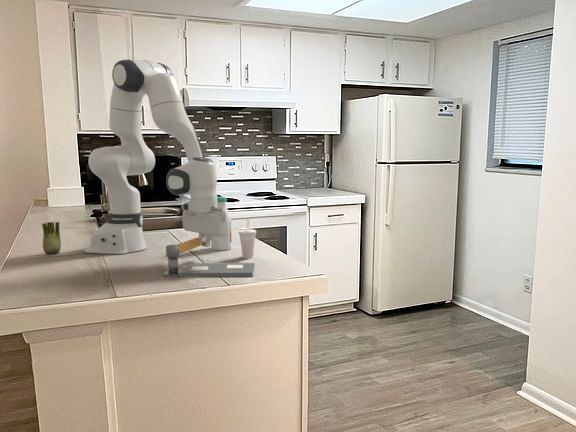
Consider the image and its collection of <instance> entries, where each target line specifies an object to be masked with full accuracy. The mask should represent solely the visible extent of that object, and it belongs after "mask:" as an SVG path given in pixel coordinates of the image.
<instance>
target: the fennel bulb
mask: <svg viewBox="0 0 576 432" xmlns="http://www.w3.org/2000/svg"><path fill="white" fill-rule="evenodd" d="M41 226H42V230H43V238H42V250H43V253H44V254H46V255H55V254H59V253H60V252H61V247H62V240H61V232H60V222H59V221H55V222H54V221H48V222H44V223H41Z"/></svg>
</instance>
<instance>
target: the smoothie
mask: <svg viewBox="0 0 576 432" xmlns="http://www.w3.org/2000/svg"><path fill="white" fill-rule="evenodd" d="M249 220H250V219H249V218H247V219H246V221H247V222H246V223H247V224H246V226H247V227H246V228H245V229H239V230H238V235H239V240H240V247H241V256H242V259H246V260H247V259H253V258H254V252H255V243H256V235H257V229H254V228H253V229H252V228H251V229H250V221H249Z"/></svg>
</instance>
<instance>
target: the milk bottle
mask: <svg viewBox="0 0 576 432" xmlns="http://www.w3.org/2000/svg"><path fill="white" fill-rule="evenodd" d="M227 199H228V198H227V197H226V196H217V204H218V208H222V209H223V210H224V212H225V213H226V217H227V222H228V234H227V235H226V236H221V237H219V236H213V235H212V238H211V241H210V248H211V249H212V250H214V251H228V250H231V249H232V219H231V215H230V213H229V209H228V208H227V203H228V202H227Z"/></svg>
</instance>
